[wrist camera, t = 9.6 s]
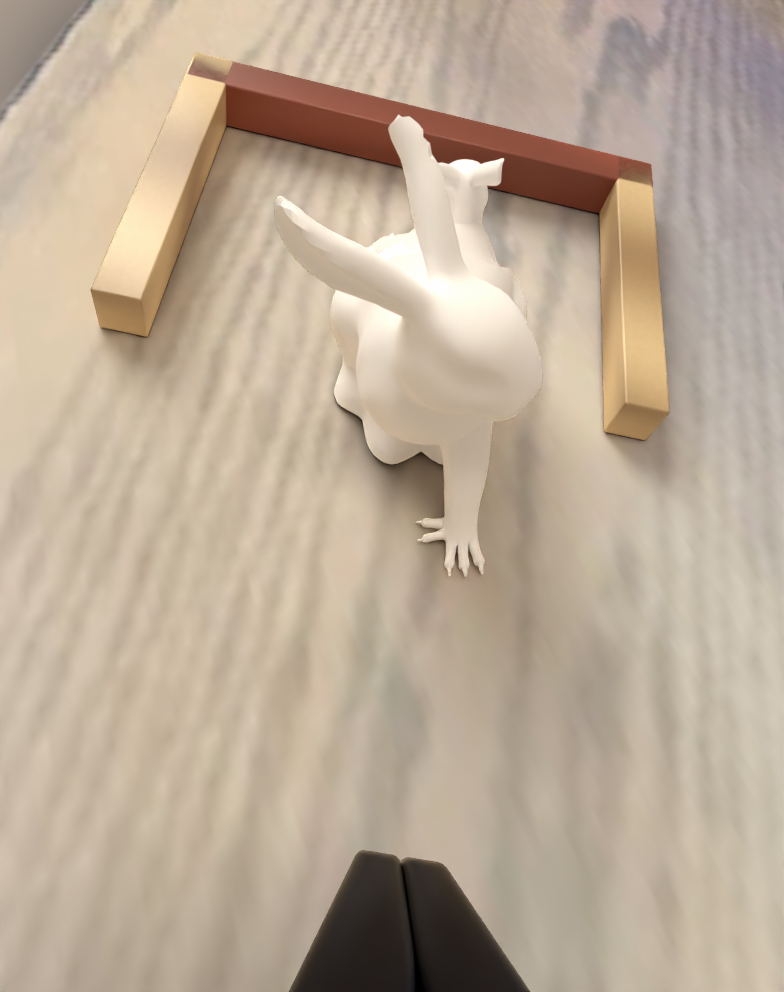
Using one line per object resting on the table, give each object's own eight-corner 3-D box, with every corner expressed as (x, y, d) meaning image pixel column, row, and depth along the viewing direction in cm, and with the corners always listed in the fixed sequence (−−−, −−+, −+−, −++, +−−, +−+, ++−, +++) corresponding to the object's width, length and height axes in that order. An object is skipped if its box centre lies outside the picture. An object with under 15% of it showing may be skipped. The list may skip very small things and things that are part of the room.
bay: (646, 441, 27) (671, 413, 25) (99, 327, 25) (89, 289, 23) (632, 198, 33) (651, 163, 31) (197, 93, 31) (194, 51, 30)
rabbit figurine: (481, 585, 23) (619, 402, 14) (235, 537, 22) (230, 316, 14) (503, 298, 29) (611, 49, 20) (309, 253, 28) (338, -23, 20)
